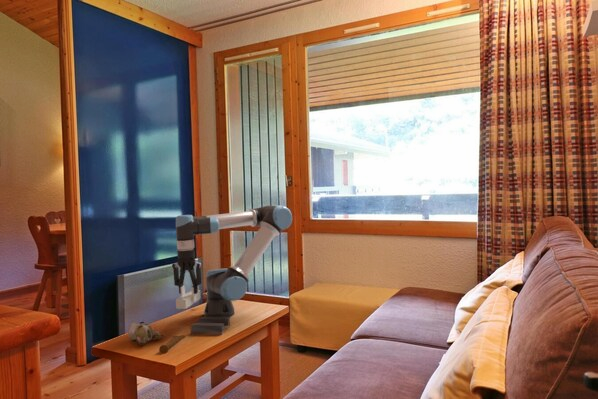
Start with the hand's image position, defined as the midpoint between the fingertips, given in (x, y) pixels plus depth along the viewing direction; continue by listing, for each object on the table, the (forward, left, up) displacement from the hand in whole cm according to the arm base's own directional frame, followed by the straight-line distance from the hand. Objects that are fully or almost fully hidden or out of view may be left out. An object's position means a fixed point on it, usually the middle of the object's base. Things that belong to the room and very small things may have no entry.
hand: (188, 300), depth 185 cm
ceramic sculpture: (+14, -14, -14) cm, 25 cm away
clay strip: (0, 0, -1) cm, 1 cm away
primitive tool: (+17, -1, -14) cm, 22 cm away
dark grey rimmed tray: (-1, +10, -13) cm, 17 cm away
